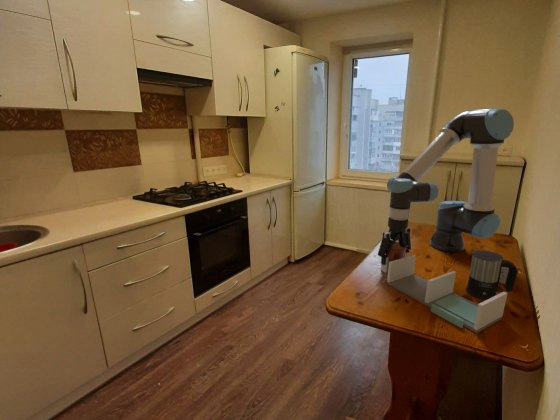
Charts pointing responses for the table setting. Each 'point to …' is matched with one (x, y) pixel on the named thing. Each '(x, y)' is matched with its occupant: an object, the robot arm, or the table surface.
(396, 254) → the mug
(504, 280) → the mug
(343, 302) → the table surface
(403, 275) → the rack
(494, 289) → the milk frother
